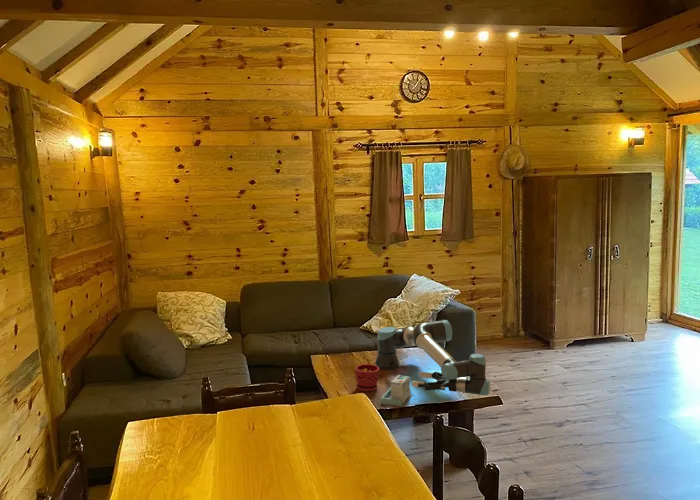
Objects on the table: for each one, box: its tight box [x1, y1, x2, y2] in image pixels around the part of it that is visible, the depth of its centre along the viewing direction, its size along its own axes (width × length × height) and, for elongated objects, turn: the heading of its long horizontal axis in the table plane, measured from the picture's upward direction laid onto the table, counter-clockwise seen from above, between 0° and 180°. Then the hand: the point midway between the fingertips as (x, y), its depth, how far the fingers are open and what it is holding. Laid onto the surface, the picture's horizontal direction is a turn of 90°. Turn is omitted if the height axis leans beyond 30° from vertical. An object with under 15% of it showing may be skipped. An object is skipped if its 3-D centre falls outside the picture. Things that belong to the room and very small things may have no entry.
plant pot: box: [354, 363, 380, 392], centre depth 282 cm, size 13×13×12 cm
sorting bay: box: [380, 386, 413, 408], centre depth 266 cm, size 12×16×3 cm
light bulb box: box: [390, 374, 411, 403], centre depth 265 cm, size 11×7×11 cm, turn 153°
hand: (415, 378), depth 262 cm, fingers open, 13 cm apart
